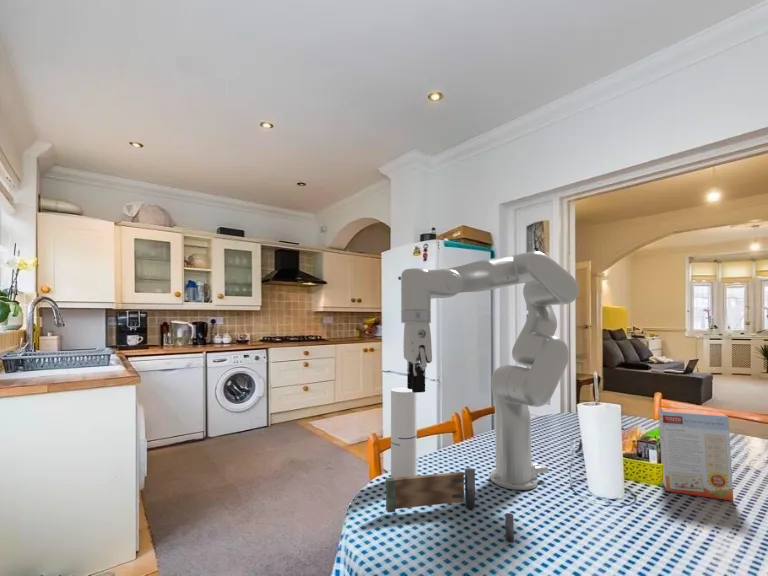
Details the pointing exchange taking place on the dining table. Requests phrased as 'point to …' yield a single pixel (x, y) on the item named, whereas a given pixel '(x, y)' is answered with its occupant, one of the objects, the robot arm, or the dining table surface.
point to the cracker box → (696, 452)
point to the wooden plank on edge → (424, 490)
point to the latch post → (509, 527)
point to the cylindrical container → (403, 432)
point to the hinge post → (469, 488)
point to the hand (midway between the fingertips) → (416, 389)
